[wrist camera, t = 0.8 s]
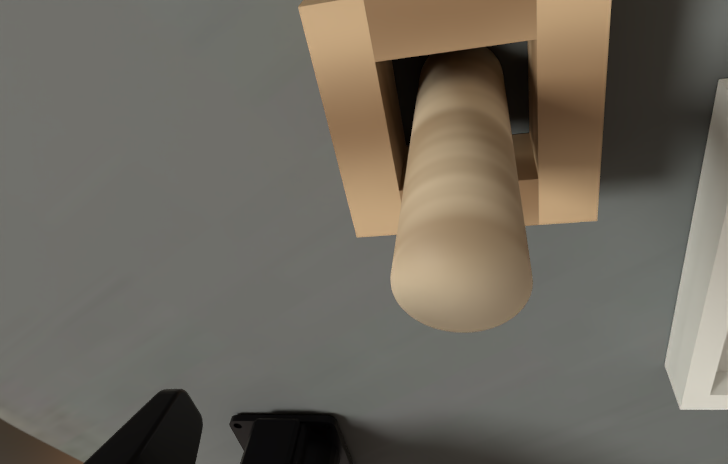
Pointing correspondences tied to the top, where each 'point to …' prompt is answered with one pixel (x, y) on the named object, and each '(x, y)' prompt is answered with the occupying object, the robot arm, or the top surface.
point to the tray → (705, 282)
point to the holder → (451, 33)
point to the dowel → (461, 201)
